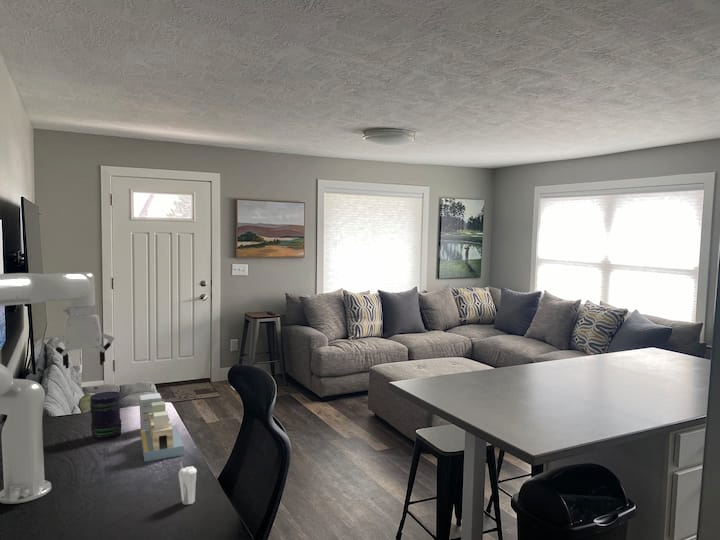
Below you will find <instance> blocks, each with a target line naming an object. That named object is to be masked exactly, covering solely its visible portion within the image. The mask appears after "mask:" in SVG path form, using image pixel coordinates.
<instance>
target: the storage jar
mask: <svg viewBox="0 0 720 540" xmlns="http://www.w3.org/2000/svg"><path fill="white" fill-rule="evenodd" d="M93 389H98V386H95V387H94V388H93ZM89 399H90V400H89V403H90V404H89V408H90V409H89V410H90V413H91V423H90V432H91V440H92V441H94V442H106V441H108V442H109V441H112V440H116V439H118V438H120V437H121V436H122V419H121V409H122V406H121V404H122V403H121V402H122V401H121V393H120V392H119V391H104V392H103V391H102V392H97V393H94V394H92V395H90V396H89Z"/></svg>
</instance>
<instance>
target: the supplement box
mask: <svg viewBox="0 0 720 540" xmlns="http://www.w3.org/2000/svg"><path fill="white" fill-rule="evenodd" d="M138 399H139V400H138V401H139V419H140V422H139V423H140V424H139V425H140V431H142V430H149V413H152V404H151V403H153V402H161V401H163V400H162V399H163V397H162V396H161V393H160V392H156V393H148V394H141V395H139V397H138Z"/></svg>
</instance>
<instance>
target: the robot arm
mask: <svg viewBox="0 0 720 540" xmlns="http://www.w3.org/2000/svg"><path fill="white" fill-rule="evenodd" d="M95 290H96V288H95V275H94V274H93V273H92V272H88V271H84V272H80V271H79V272H56V273H55V272H53V273H50V274H49V273H33V272H27V273H26V272H16V273H15V272H13V273H12V272H11V273H0V307H6V306H15V305H27V304H28V305H30V304H38V303H46V302H56V301H57V302H58V301H68V307H67V308H64V309H63V310H62V312H63V314H66V315H68V316H66V318H65V322H64V335H62V336H61V337H59V338H57V339H54V340H53V341H51V345H52V346H53V348H54V349H55V351H56V352H57V353H59V354H60V355H61V356H62V365H63V366H62V367H64V366H65V370H66V369H69V366H70V364H69V354H68V353H69V351H71V350H74V351H75V350H83V349H84V350H85V349H86V350H87V349H96V348H97V349H98V350H99V364H100V366H103V363H105V362H106V351H107V350H108V349H109V348H110V347H111V346H112V343H113V341H114V339H115V338H114V337H113V336H112V335H110V334H107V333H105V332H102V328H101V322H100V317H99V315H98V314H97V312H96V310H97V309H96V292H95ZM102 339H104V340H107V342H106V344H105V345H103V344H102ZM62 342H64V347H65V348H64V349H63V347H60V343H62ZM13 376H14V375H13V374H12V372H11V371H10V369H8V368H7V367H6V366H5V365H3V364H2V363H0V415H6V416H7V417H6V420H5V422H4V424H3V426H2V429H1V435H0V436H1V437H0V439H1V451H2V453H1V455H2V472H3V473H2V475H3V476H2V477H3V489H2V490H0V503H2V504H6V505H7V504H8V505H14V504H22V503H26V502H31V501H34V500H36V499H39V498H42V497H43V496H45V495H47V494H48V493H49V492H50V491H51V490H52V483H51V481H48V480H45V465H44V464H45V462H44V458H45V457H44V443H43V442H44V440H43V439H44V438H43V411H44V407H45V398H46V394H45V389H44V387H43V386H42V384H40V383H39V382H37V381H34V380H31V379H22V378H14V377H13Z"/></svg>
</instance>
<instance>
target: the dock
mask: <svg viewBox="0 0 720 540" xmlns="http://www.w3.org/2000/svg"><path fill="white" fill-rule="evenodd" d="M172 428H173V448H169V449H167V445H166V441H165V438H164V436H159V450H156V451H153V446H152V441H151V436H150V431H149V430H140V441H141V448H142V454H143V460H144V461H143V462H145V463H146V462H150V461H151V462H153V461H156V460H157V461H158V460H162V459H169V458H175V457H181V456H184V455H185V445H184V442H183V440H182V437H181V435H180V434H181V433H180V431H179V429H178V425H172Z"/></svg>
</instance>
